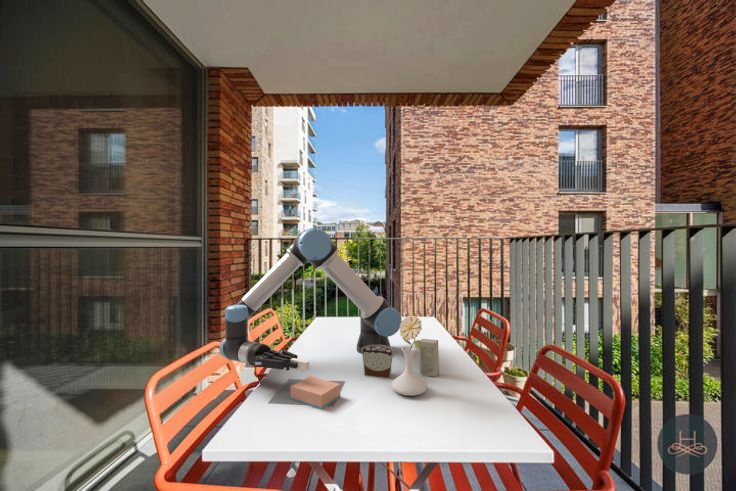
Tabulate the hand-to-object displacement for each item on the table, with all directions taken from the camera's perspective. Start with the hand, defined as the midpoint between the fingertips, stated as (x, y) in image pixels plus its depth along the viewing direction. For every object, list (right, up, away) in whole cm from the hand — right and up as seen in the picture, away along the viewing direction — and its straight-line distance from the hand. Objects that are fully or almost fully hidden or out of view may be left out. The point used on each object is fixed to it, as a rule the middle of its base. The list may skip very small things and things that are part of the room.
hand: (307, 366), depth 103 cm
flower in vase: (+32, -10, +3) cm, 34 cm away
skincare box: (+41, -10, +19) cm, 46 cm away
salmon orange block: (-2, -7, +2) cm, 8 cm away
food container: (+23, -10, +19) cm, 31 cm away
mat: (0, -10, +3) cm, 10 cm away
